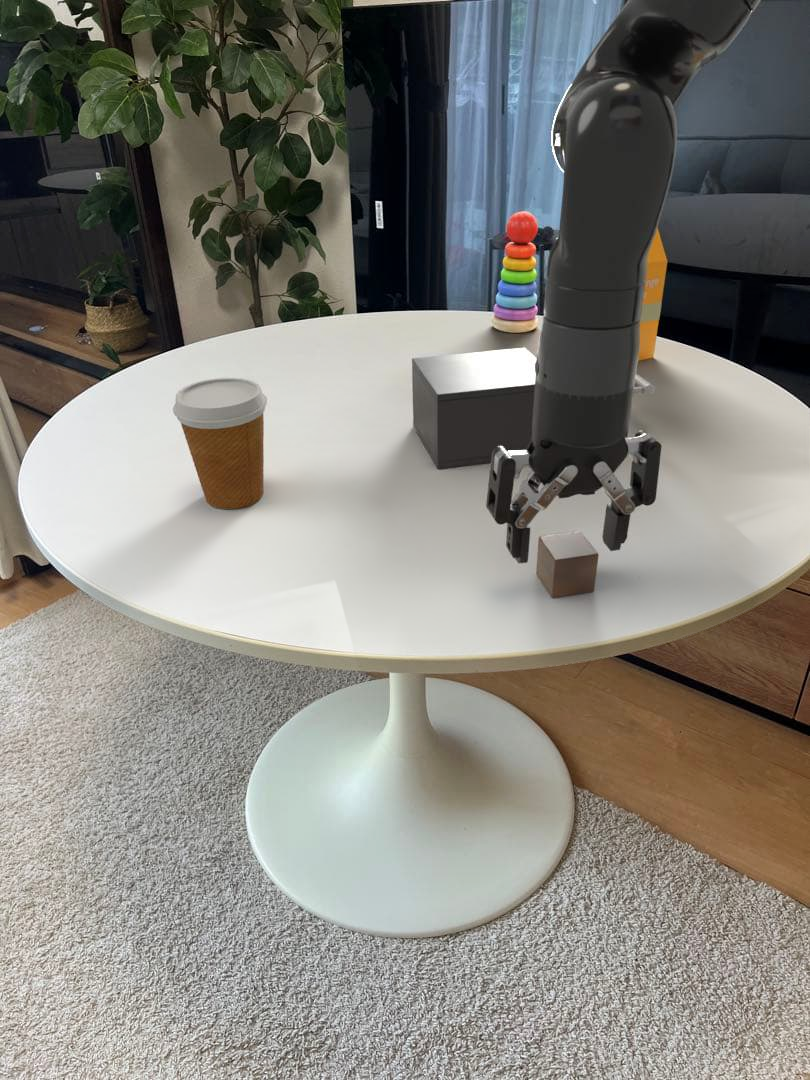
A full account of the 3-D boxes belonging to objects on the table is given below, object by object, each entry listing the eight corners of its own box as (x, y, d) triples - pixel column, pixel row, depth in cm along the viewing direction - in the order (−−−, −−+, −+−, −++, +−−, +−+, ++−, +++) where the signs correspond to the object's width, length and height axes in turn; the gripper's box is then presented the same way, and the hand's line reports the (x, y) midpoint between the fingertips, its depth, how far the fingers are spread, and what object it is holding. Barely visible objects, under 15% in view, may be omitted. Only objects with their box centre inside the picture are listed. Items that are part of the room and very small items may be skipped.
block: (576, 567, 73) (580, 530, 71) (594, 591, 70) (599, 553, 68) (535, 573, 72) (538, 536, 70) (551, 598, 69) (555, 560, 67)
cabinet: (521, 414, 104) (524, 347, 99) (556, 454, 93) (562, 381, 88) (413, 426, 101) (411, 358, 97) (437, 469, 91) (437, 394, 86)
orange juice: (654, 357, 121) (674, 219, 111) (608, 367, 118) (625, 226, 108) (620, 343, 127) (637, 211, 117) (576, 353, 124) (589, 218, 114)
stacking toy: (498, 335, 133) (502, 217, 123) (486, 322, 139) (490, 209, 130) (543, 332, 134) (551, 214, 124) (529, 319, 140) (536, 206, 131)
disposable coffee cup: (186, 484, 89) (166, 383, 83) (269, 470, 92) (256, 371, 85) (195, 524, 81) (175, 416, 75) (286, 507, 84) (273, 401, 78)
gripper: (513, 401, 56) (502, 587, 65) (694, 382, 59) (661, 564, 67) (481, 367, 62) (475, 541, 71) (647, 351, 65) (621, 521, 73)
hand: (565, 552), depth 69 cm, fingers open, 8 cm apart
